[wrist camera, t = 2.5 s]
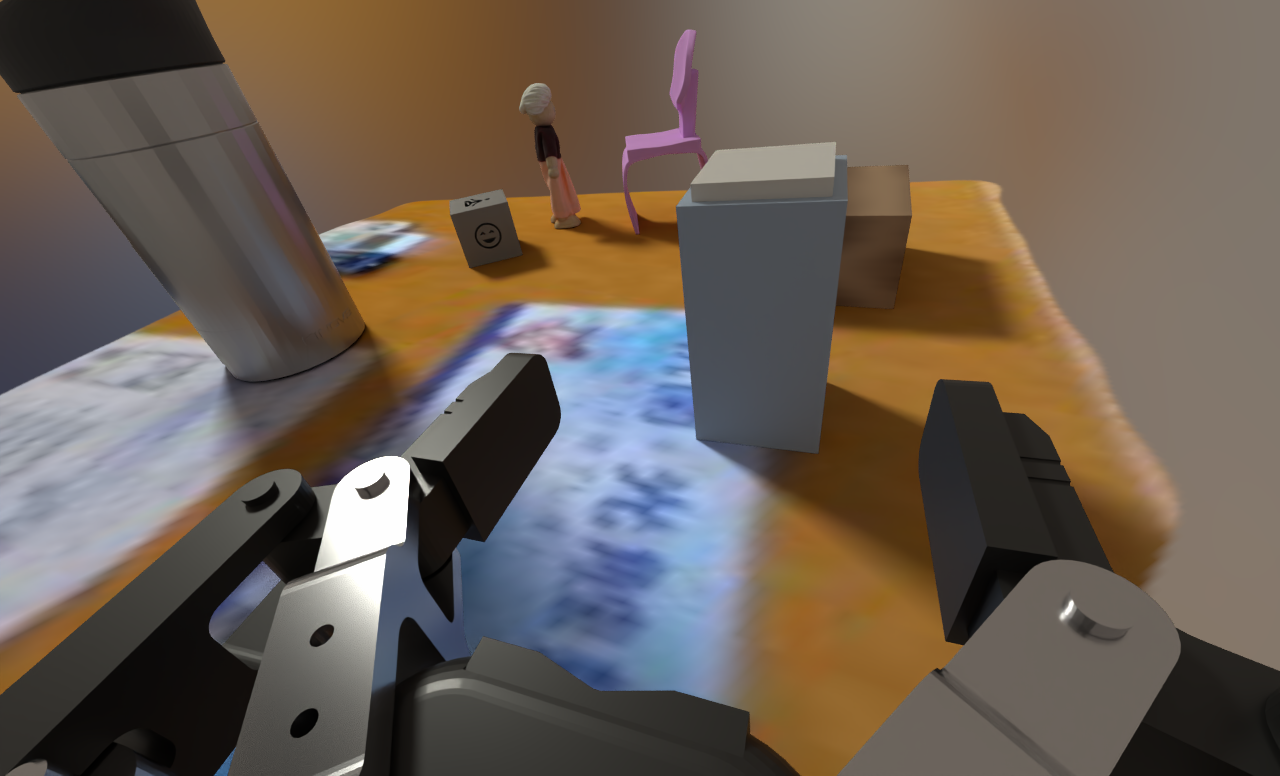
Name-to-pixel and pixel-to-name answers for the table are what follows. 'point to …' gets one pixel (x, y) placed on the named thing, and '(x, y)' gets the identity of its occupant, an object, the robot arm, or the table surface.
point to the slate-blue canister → (762, 291)
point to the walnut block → (874, 236)
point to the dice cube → (485, 228)
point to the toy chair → (685, 135)
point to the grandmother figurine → (551, 155)
